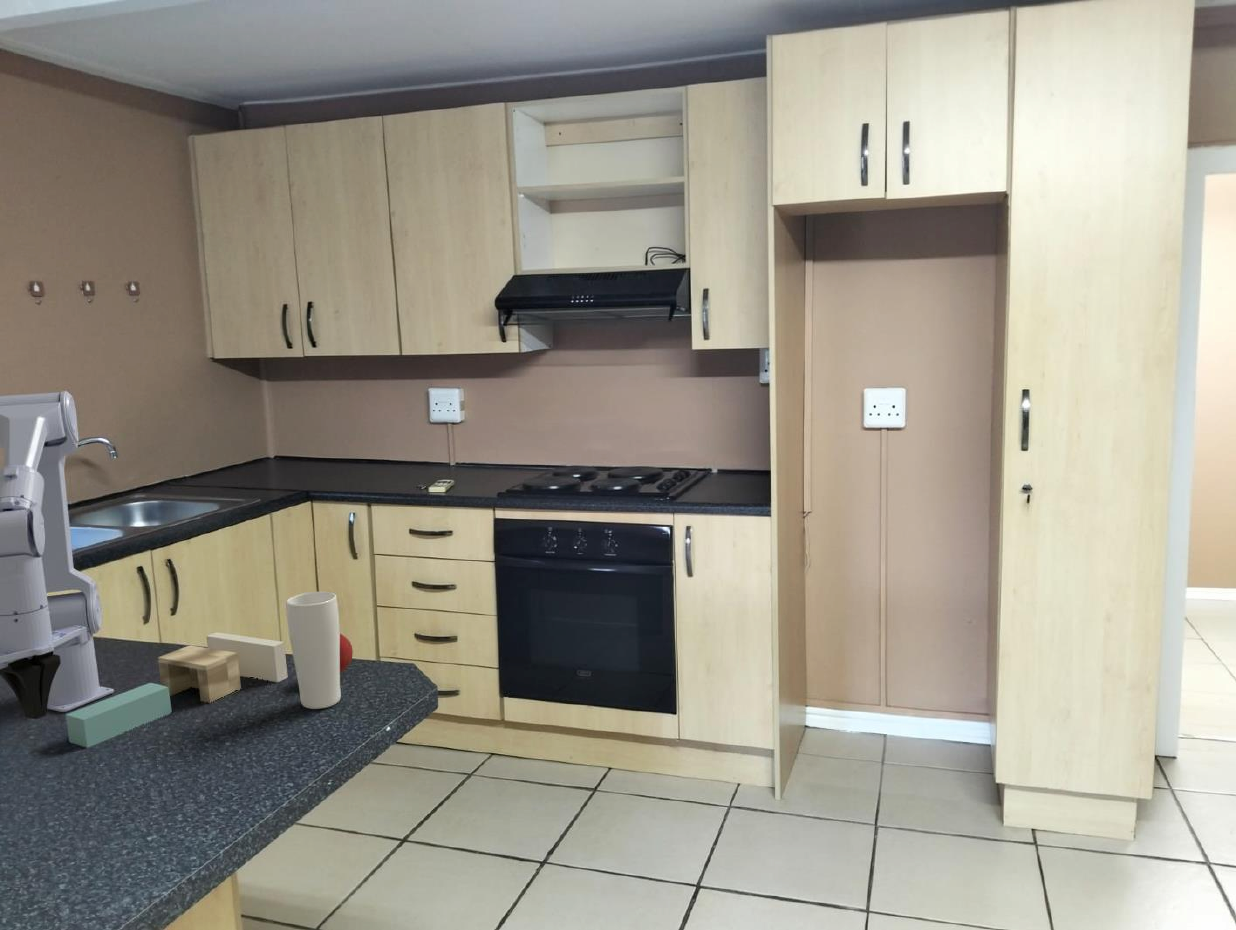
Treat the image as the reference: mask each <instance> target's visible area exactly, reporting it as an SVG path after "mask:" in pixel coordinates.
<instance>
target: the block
mask: <svg viewBox="0 0 1236 930" xmlns="http://www.w3.org/2000/svg"><path fill="white" fill-rule="evenodd" d="M157 662H158V670H159V677H160V678H159V679H160V685H162V686H166V687H169V695H170V697H172V696H174V695H177V694H178V693H181V692H184V691H186V690H189V689H191V688H195V689H198V690H199V697H200V702H201V701H204V702H203V703H206V702H209V703H208V704H212V703H214V702H216V701H215V700H217V699H219V698H221V697H223V698H225V697H227V696H226V695H228V694H230V693H232V692H234V691H235V690H238V691H240V689H241V690H242V684H241V683H242V682H241V676H240V674H239V665H238V656H237V653H235V652H228V651H222V650H216V649H209V648H208V647H204V646H203V647H201V646H197V645H188V646H184V647H182V648H179V649H177V650H173V651H171V652H169V653H166V654H163V655H161V656H158V657H157ZM190 687H191V688H190ZM183 690H184V691H183ZM234 693H235V692H234ZM232 694H233V693H232ZM230 695H231V694H230ZM224 696H225V697H224ZM228 696H229V695H228ZM221 699H222V698H221ZM219 700H220V699H219ZM213 701H214V702H213ZM217 701H218V700H217ZM211 702H212V703H211Z"/></svg>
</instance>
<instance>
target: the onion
mask: <svg viewBox="0 0 1236 930" xmlns="http://www.w3.org/2000/svg"><path fill="white" fill-rule="evenodd" d="M353 652H354V651H353V646H352V644H351V641H350V640H349V639H348V638H347V637H346V636H344V635H343V634H341V633H340V675H341V674H342V673H343V672H345V670H347V668H349V666H350V665H351V662H352V660H353V654H354V653H353Z"/></svg>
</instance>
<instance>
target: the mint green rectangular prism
mask: <svg viewBox="0 0 1236 930" xmlns="http://www.w3.org/2000/svg"><path fill="white" fill-rule="evenodd" d="M171 703H172V702H171V696H170V695H169V687H166V686H162V685H161V684H157V683H153V682H148V683H146V684H143V685H140V686H137V687H136V688H133V689H130V690H127V691H125V692H123V693H122V692H121V693H120V694H117V695H115V696H114V695H113V696H111V697H109V698H106V699H104V700H101V701H98V702H95V703H93V704H90V705H87V706H85V707H82V708H79V709H77V710H75V711H72V712H68V713H66V714H65V720H66V728H67V734H68V740H69V743H70V744H73V745H74V744H75V745H77V746H80V747H83V748H87V749H88V748H90V747H93V746H95V745H97V744H101V743H102V742H105V741H108V740H110V739H113V738H115V737H117V735H118V736H120V735H123V734H124V733H123V732H125V731H127V732H130V731H132V730H134V729H133V728H135V727H137V728H139V727H141V726H140V725H142V724H144V725H146V723H147V724H149V723H151V722H154V721H156V720H158V719H157V718H159V719H161V718H163V716H164V717H166V716H168V715H171V714H172V713H173V712H172V704H171ZM171 712H172V713H171ZM170 713H171V714H170ZM165 715H166V716H165ZM160 717H161V718H160ZM155 719H156V720H155ZM153 720H154V721H153ZM150 721H151V722H150ZM148 722H149V723H148ZM138 726H139V727H138ZM142 726H143V725H142ZM131 729H132V730H131ZM135 729H136V728H135ZM129 730H130V731H129ZM125 733H126V732H125ZM119 734H120V735H119Z"/></svg>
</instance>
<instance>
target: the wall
mask: <svg viewBox="0 0 1236 930" xmlns="http://www.w3.org/2000/svg"><path fill="white" fill-rule="evenodd" d="M205 637H206V646H207V647H206V648H209V649H216V650H222V651H228V652H235V653H237V656H238V665H239V674H240V677H243V678H244V677H245V678H250V677H254V678H253V679H256V678H258V680H262V679H263V680H262V681H267V680H268V682H274V683H279V682H281V681H283V680H286V679H287V678H288V677H289V676H288V668H287V659H286V647H285V642H284V641H280V640H273V639H271V640H270V639H266V638H265V639H264V638H258V637H253V636H251V637H250V636H246V635H245V636H244V635H239V634H231V633H224V632H217V631H216V632H214V633H210V634H208V635H206V636H205Z"/></svg>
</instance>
